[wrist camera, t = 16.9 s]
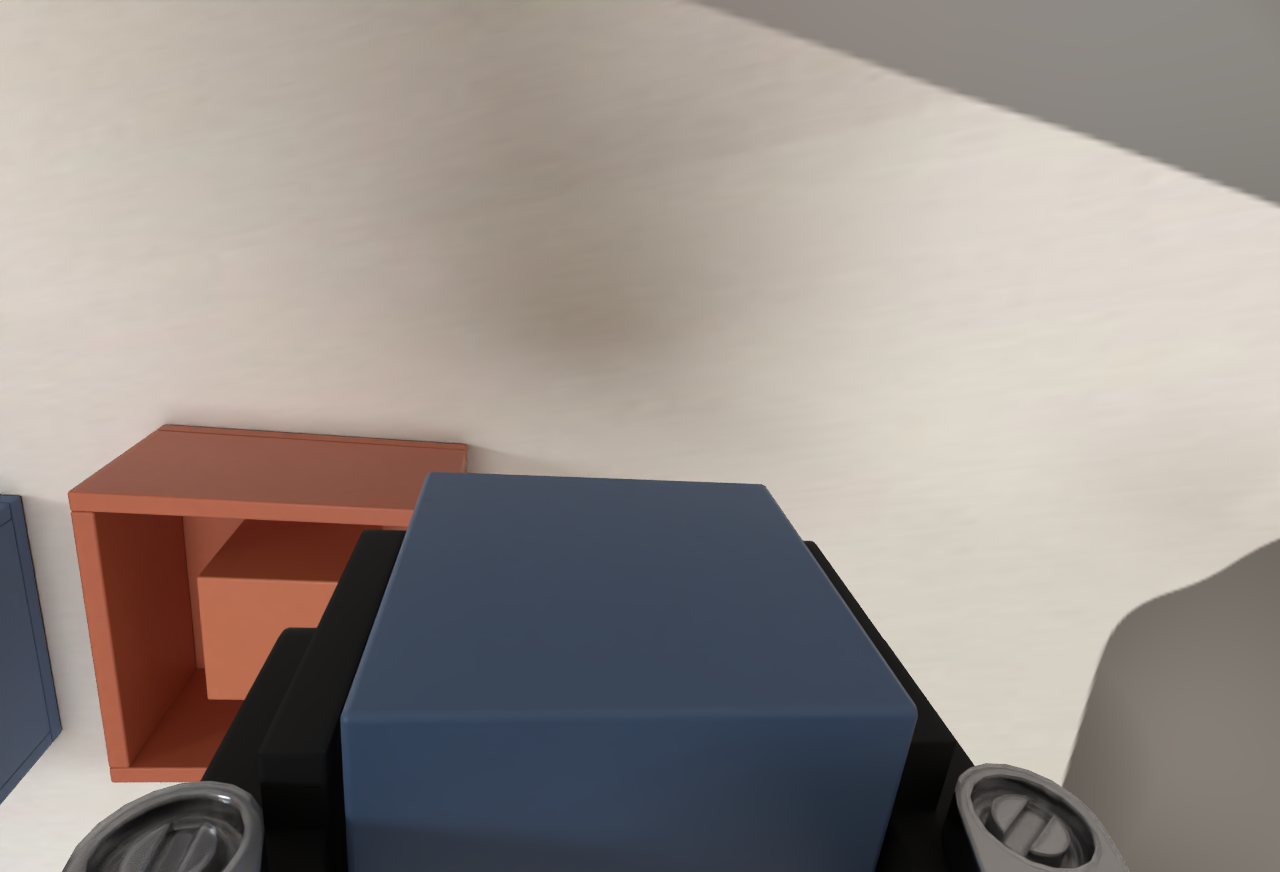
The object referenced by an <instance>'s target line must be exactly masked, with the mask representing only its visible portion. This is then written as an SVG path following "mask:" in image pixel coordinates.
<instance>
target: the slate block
mask: <svg viewBox="0 0 1280 872" xmlns="http://www.w3.org/2000/svg"><path fill="white" fill-rule="evenodd" d="M917 718H918V713H917V708H916V705H915V703H914V702H913V701H912V699H911V698H910V696H909V695H908V693H907V692H906V690H905V689H904V687H903V686H902V685H901V683H900V682H899V680H898V679H897V677H896V676H895V674H894V673H893V671H892V670H891V668H890V667H889V666H888V664H887V663H886V661H885V660H884V658H883V657H882V655H881V654H880V652H879V651H878V650H877V648H876V647H875V645H874V644H873V642H872V641H871V639H870V638H869V636H868V635H867V634H866V632H865V631H864V629H863V628H862V626H861V625H860V623H859V622H858V620H857V619H856V618H855V616H854V615H853V613H852V612H851V610H850V609H849V607H848V606H847V604H846V603H845V602H844V600H843V599H842V597H841V596H840V594H839V593H838V591H837V590H836V588H835V587H834V585H833V584H832V583H831V581H830V580H829V578H828V577H827V575H826V574H825V572H824V571H823V569H822V568H821V567H820V565H819V564H818V562H817V561H816V559H815V558H814V556H813V555H812V553H811V552H810V551H809V549H808V548H807V546H806V545H805V543H804V542H803V540H802V539H801V537H800V536H799V535H798V533H797V532H796V530H795V529H794V527H793V526H792V524H791V523H790V521H789V520H788V519H787V517H786V516H785V514H784V513H783V511H782V510H781V508H780V507H779V505H778V504H777V503H776V501H775V500H774V498H773V497H772V495H771V494H770V492H769V491H768V489H767V488H766V486H764V485H762V484H740V483H714V482H687V481H661V480H635V479H609V478H582V477H556V476H530V475H503V474H477V473H451V472H430V473H428V474H427V476H426V478H425V481H424V483H423V486H422V489H421V492H420V495H419V497H418V500H417V503H416V506H415V509H414V512H413V514H412V517H411V520H410V523H409V526H408V528H407V531H406V534H405V537H404V540H403V542H402V545H401V548H400V551H399V554H398V557H397V559H396V562H395V565H394V568H393V571H392V573H391V576H390V579H389V582H388V585H387V588H386V590H385V593H384V596H383V599H382V602H381V604H380V607H379V610H378V613H377V616H376V618H375V621H374V624H373V627H372V630H371V633H370V635H369V638H368V641H367V644H366V647H365V649H364V652H363V655H362V658H361V661H360V664H359V666H358V669H357V672H356V675H355V678H354V680H353V683H352V686H351V689H350V692H349V694H348V697H347V700H346V703H345V706H344V709H343V711H342V714H341V717H340V724H341V743H342V763H343V782H344V802H345V821H346V841H347V860H348V872H875V870H876V866H877V862H878V859H879V855H880V852H881V848H882V844H883V841H884V837H885V834H886V830H887V826H888V823H889V819H890V816H891V812H892V808H893V805H894V801H895V798H896V794H897V790H898V787H899V783H900V780H901V776H902V772H903V769H904V765H905V762H906V758H907V754H908V751H909V747H910V743H911V740H912V736H913V733H914V729H915V725H916V722H917Z"/></svg>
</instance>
